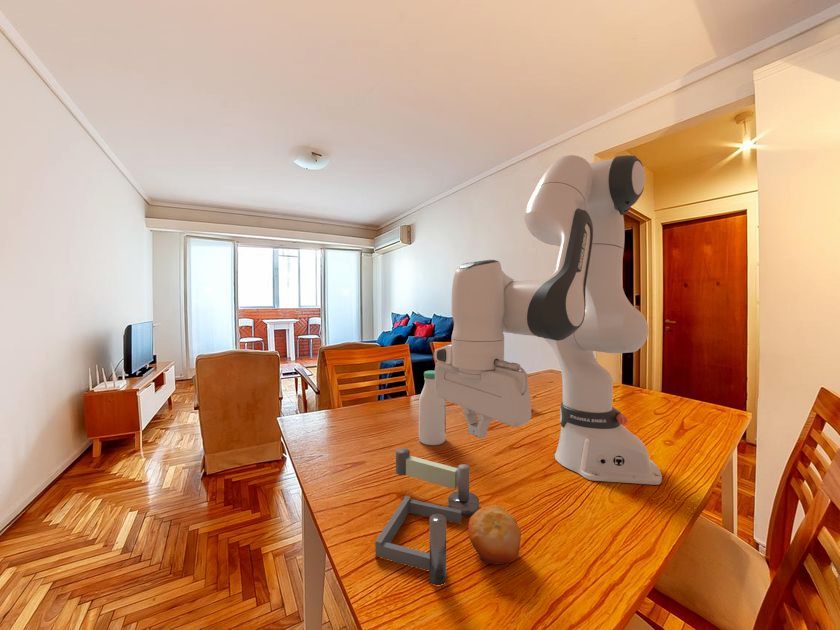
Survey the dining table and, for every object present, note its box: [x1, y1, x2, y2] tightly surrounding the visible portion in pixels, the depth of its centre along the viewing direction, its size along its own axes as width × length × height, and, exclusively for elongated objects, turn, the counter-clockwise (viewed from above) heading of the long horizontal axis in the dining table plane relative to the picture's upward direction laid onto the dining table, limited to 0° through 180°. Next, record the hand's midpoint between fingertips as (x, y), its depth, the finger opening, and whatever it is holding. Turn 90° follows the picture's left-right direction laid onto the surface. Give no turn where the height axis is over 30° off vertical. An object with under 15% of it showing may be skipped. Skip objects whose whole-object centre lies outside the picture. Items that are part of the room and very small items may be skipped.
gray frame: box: [374, 495, 463, 572], centre depth 57 cm, size 11×13×2 cm
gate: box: [395, 447, 470, 502], centre depth 69 cm, size 3×17×6 cm, turn 61°
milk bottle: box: [418, 370, 447, 446], centre depth 96 cm, size 8×8×20 cm
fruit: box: [468, 504, 522, 565], centre depth 53 cm, size 8×8×8 cm
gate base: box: [447, 490, 480, 518], centre depth 65 cm, size 6×6×2 cm
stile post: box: [429, 514, 447, 585], centre depth 48 cm, size 2×2×9 cm
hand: (477, 435), depth 58 cm, fingers closed
